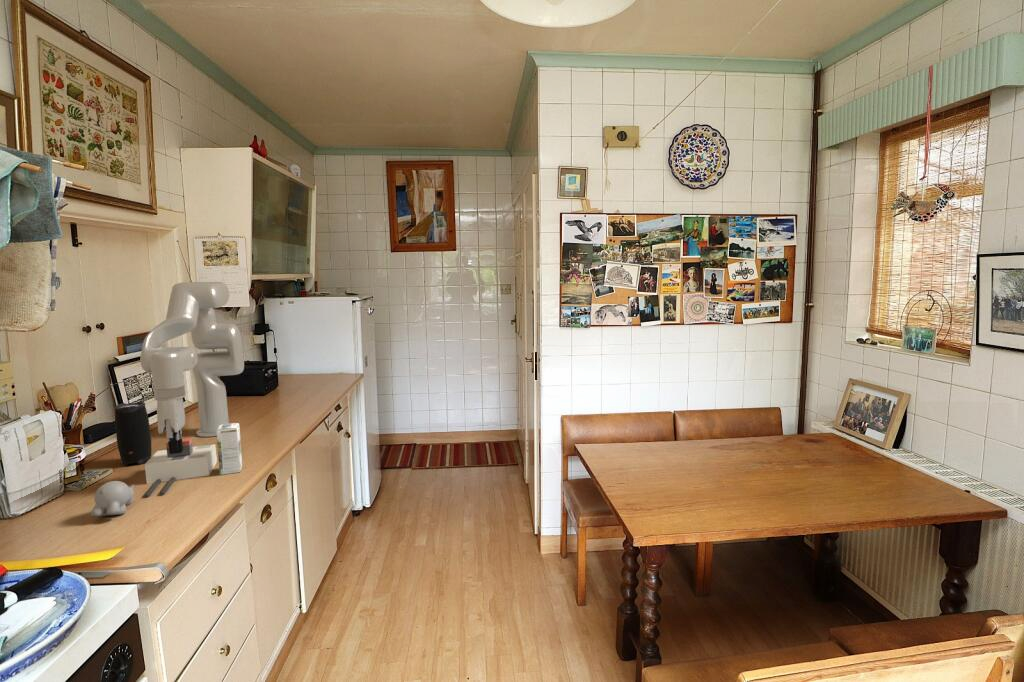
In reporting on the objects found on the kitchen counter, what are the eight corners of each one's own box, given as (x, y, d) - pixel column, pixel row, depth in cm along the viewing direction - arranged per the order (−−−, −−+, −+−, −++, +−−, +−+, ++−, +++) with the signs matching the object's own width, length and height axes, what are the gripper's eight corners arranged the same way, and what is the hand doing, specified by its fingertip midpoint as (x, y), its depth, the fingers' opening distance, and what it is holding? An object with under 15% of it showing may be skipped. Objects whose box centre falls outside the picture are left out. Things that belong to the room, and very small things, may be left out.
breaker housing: (159, 469, 158) (157, 450, 157) (217, 461, 164) (215, 444, 163) (146, 483, 147) (144, 464, 146) (208, 475, 152) (207, 456, 152)
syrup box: (222, 469, 158) (217, 424, 156) (243, 465, 160) (239, 422, 158) (219, 475, 152) (215, 429, 150) (241, 472, 155) (237, 427, 153)
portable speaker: (140, 467, 160) (133, 407, 157) (112, 466, 160) (104, 408, 158) (160, 457, 169) (153, 400, 166) (133, 457, 169) (126, 400, 166)
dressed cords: (157, 482, 148) (156, 478, 148) (176, 480, 149) (175, 476, 149) (144, 498, 138) (143, 494, 137) (164, 495, 139) (164, 491, 139)
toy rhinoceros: (144, 512, 135) (149, 479, 137) (115, 516, 124) (120, 480, 126) (116, 513, 134) (121, 480, 136) (83, 517, 123) (89, 481, 125)
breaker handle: (170, 454, 154) (168, 440, 153) (192, 451, 156) (191, 437, 155) (167, 457, 151) (165, 443, 150) (190, 454, 153) (189, 440, 152)
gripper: (162, 388, 153) (169, 446, 155) (146, 400, 139) (153, 463, 141) (191, 386, 155) (197, 443, 158) (177, 397, 141) (184, 459, 144)
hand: (176, 452), depth 150 cm, fingers closed
